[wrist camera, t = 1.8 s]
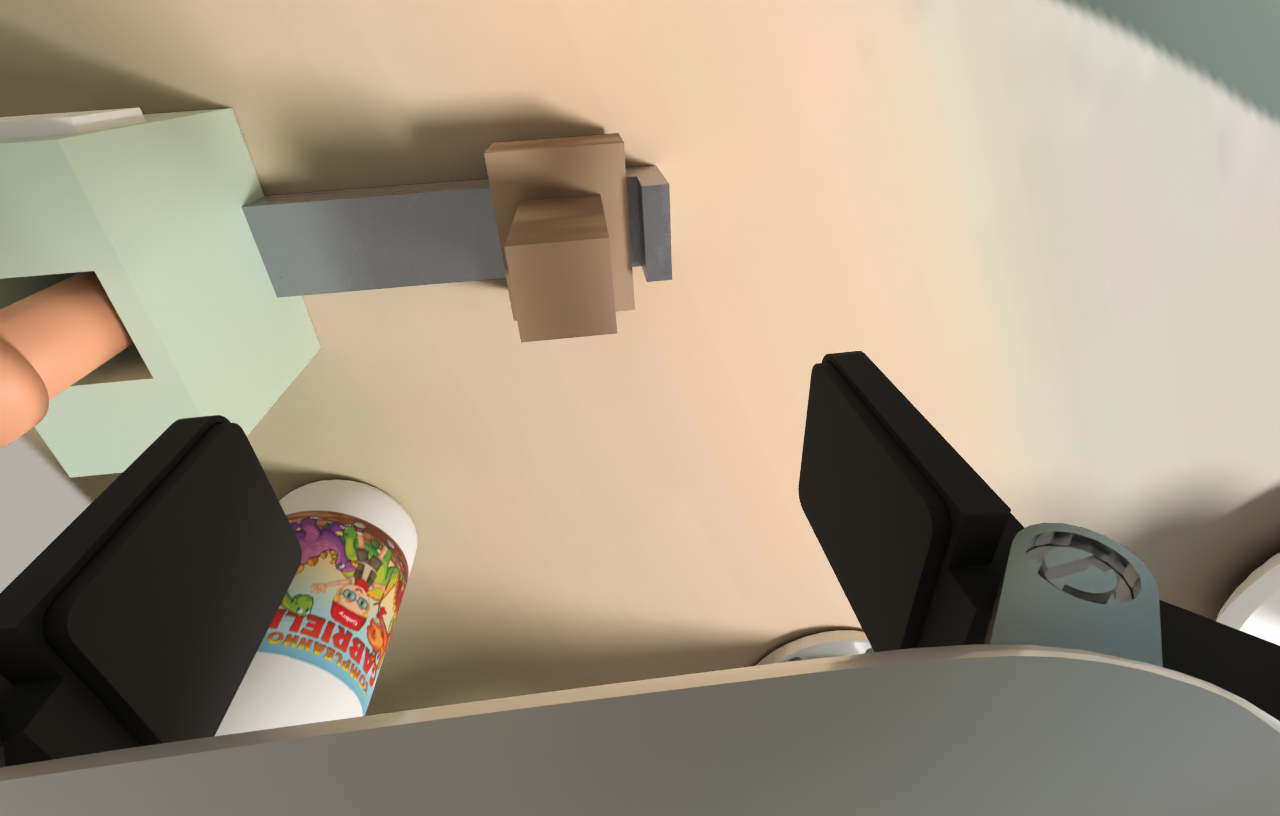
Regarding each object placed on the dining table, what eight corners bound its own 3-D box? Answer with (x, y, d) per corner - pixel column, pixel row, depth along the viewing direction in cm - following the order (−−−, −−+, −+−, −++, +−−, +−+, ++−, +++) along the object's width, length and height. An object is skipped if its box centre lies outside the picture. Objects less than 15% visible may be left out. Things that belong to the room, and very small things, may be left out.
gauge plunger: (154, 247, 19) (-26, 334, 13) (196, 333, 21) (51, 443, 15) (56, 255, 19) (-168, 347, 13) (106, 341, 21) (-76, 456, 15)
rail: (655, 165, 25) (668, 183, 22) (659, 250, 27) (672, 279, 24) (264, 195, 24) (214, 220, 21) (296, 281, 26) (255, 316, 23)
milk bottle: (381, 595, 36) (213, 1080, 19) (250, 543, 33) (-86, 1064, 16) (445, 514, 34) (316, 996, 17) (309, 450, 31) (-20, 958, 14)
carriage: (618, 133, 24) (640, 172, 16) (629, 286, 27) (651, 377, 20) (492, 142, 24) (455, 187, 16) (519, 296, 27) (498, 392, 19)
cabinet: (227, 96, 22) (48, 122, 15) (321, 347, 28) (225, 462, 20) (87, 105, 22) (-170, 137, 14) (210, 357, 27) (70, 477, 20)
